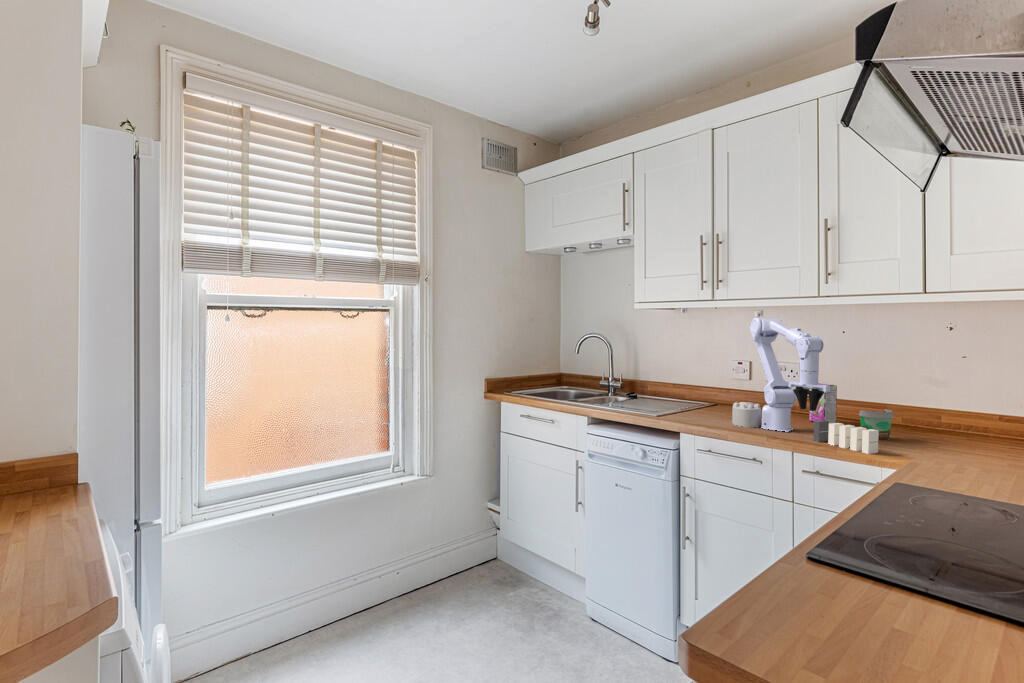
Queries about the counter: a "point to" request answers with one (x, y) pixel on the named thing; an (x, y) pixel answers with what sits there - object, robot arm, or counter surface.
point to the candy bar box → (825, 406)
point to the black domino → (821, 430)
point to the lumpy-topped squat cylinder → (746, 414)
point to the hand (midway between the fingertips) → (807, 409)
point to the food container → (877, 422)
